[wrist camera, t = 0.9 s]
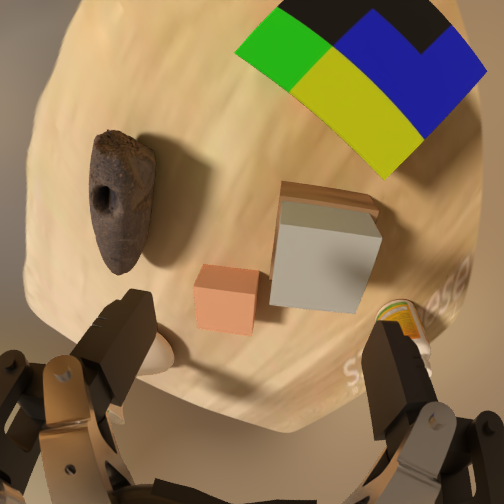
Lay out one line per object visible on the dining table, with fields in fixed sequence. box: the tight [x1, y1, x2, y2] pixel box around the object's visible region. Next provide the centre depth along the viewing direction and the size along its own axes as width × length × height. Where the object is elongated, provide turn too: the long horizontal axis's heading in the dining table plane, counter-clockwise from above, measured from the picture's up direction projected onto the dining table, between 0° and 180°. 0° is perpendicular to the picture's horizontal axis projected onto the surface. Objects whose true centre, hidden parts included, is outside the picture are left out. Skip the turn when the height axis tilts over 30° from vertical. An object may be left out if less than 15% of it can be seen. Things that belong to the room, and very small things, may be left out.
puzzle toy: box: [235, 0, 487, 180], centre depth 14 cm, size 10×10×10 cm
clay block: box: [193, 264, 259, 336], centre depth 30 cm, size 6×6×4 cm
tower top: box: [269, 201, 382, 314], centre depth 22 cm, size 7×7×4 cm
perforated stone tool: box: [89, 130, 156, 275], centre depth 24 cm, size 15×5×7 cm, turn 165°
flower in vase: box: [107, 332, 174, 424], centre depth 29 cm, size 13×11×25 cm
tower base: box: [269, 181, 379, 280], centre depth 25 cm, size 8×8×4 cm
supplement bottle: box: [375, 300, 432, 377], centre depth 27 cm, size 5×5×10 cm
